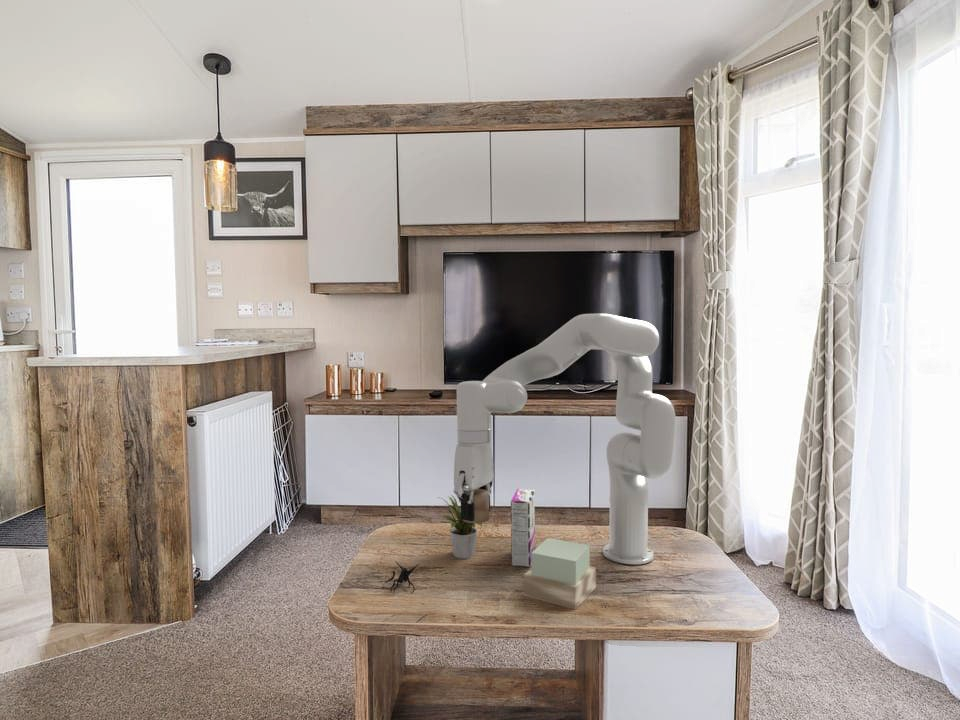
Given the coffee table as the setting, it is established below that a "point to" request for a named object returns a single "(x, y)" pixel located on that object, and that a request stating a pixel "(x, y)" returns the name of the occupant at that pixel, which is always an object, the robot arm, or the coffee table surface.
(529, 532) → the candy bar box
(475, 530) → the house plant
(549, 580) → the tower base
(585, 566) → the tower top
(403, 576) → the creature
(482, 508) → the walnut cylinder
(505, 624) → the coffee table surface
